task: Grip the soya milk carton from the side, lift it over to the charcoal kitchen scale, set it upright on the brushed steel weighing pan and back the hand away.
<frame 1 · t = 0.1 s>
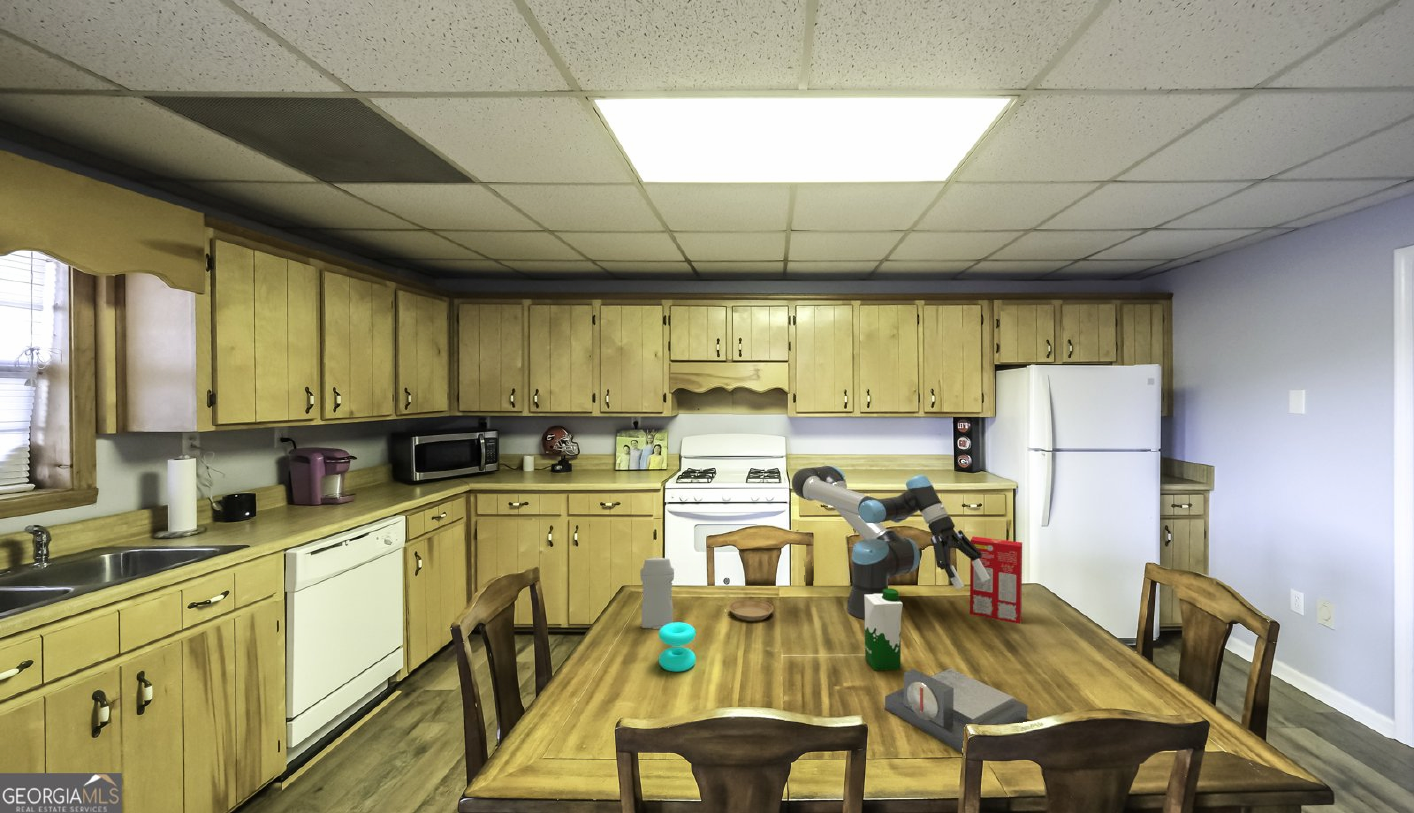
hand: (973, 584, 172), 15 cm above the table, tool tilted 35°, fingers open, 13 cm apart
food packaging: (995, 616, 186), on the table
scale: (955, 713, 129), on the table
donuts: (677, 665, 153), on the table
plant saucer: (751, 615, 187), on the table
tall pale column: (657, 627, 177), on the table
soya milk: (882, 664, 153), on the table
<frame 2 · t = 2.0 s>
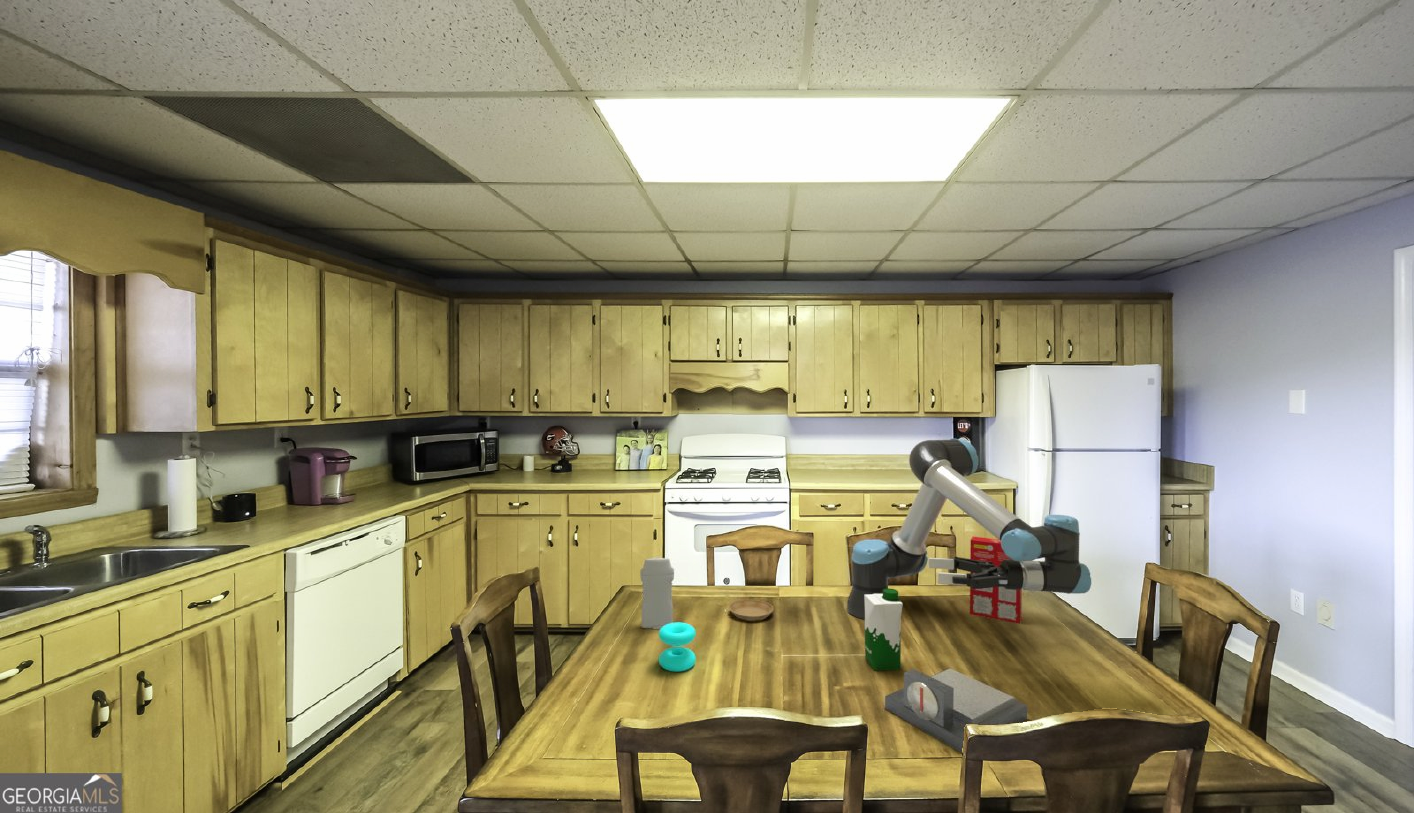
hand: (932, 570, 150), 26 cm above the table, tool horizontal, fingers open, 13 cm apart
nothing on the table moved.
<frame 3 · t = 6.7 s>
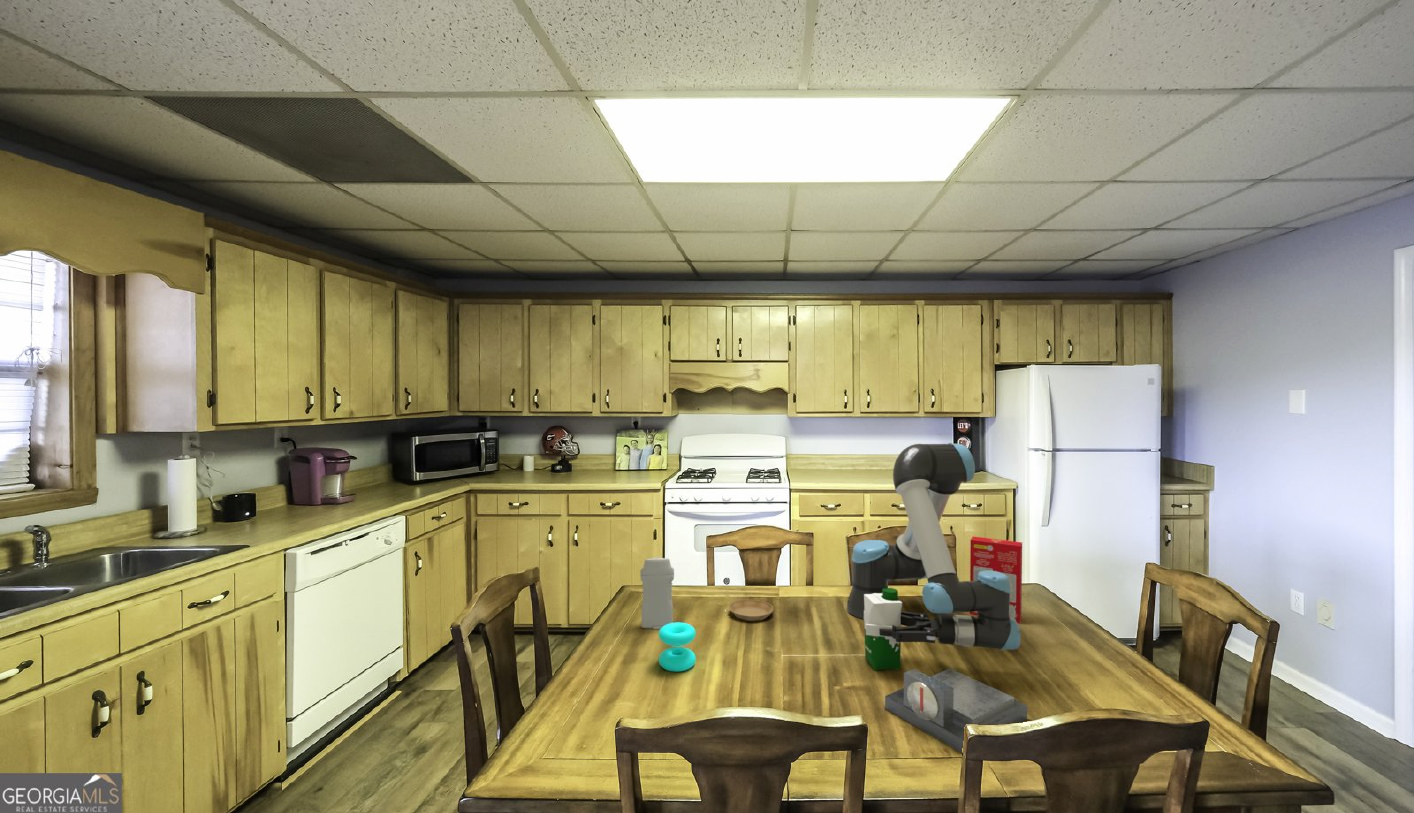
hand: (865, 622, 153), 11 cm above the table, tool horizontal, fingers closed on soya milk, 9 cm apart
soya milk: (882, 664, 153), on the table, touching gripper
everything else where it was.
when the fingers open (17 cm above the table, at t = 13.4 s): soya milk drops 1 cm, resting on scale.
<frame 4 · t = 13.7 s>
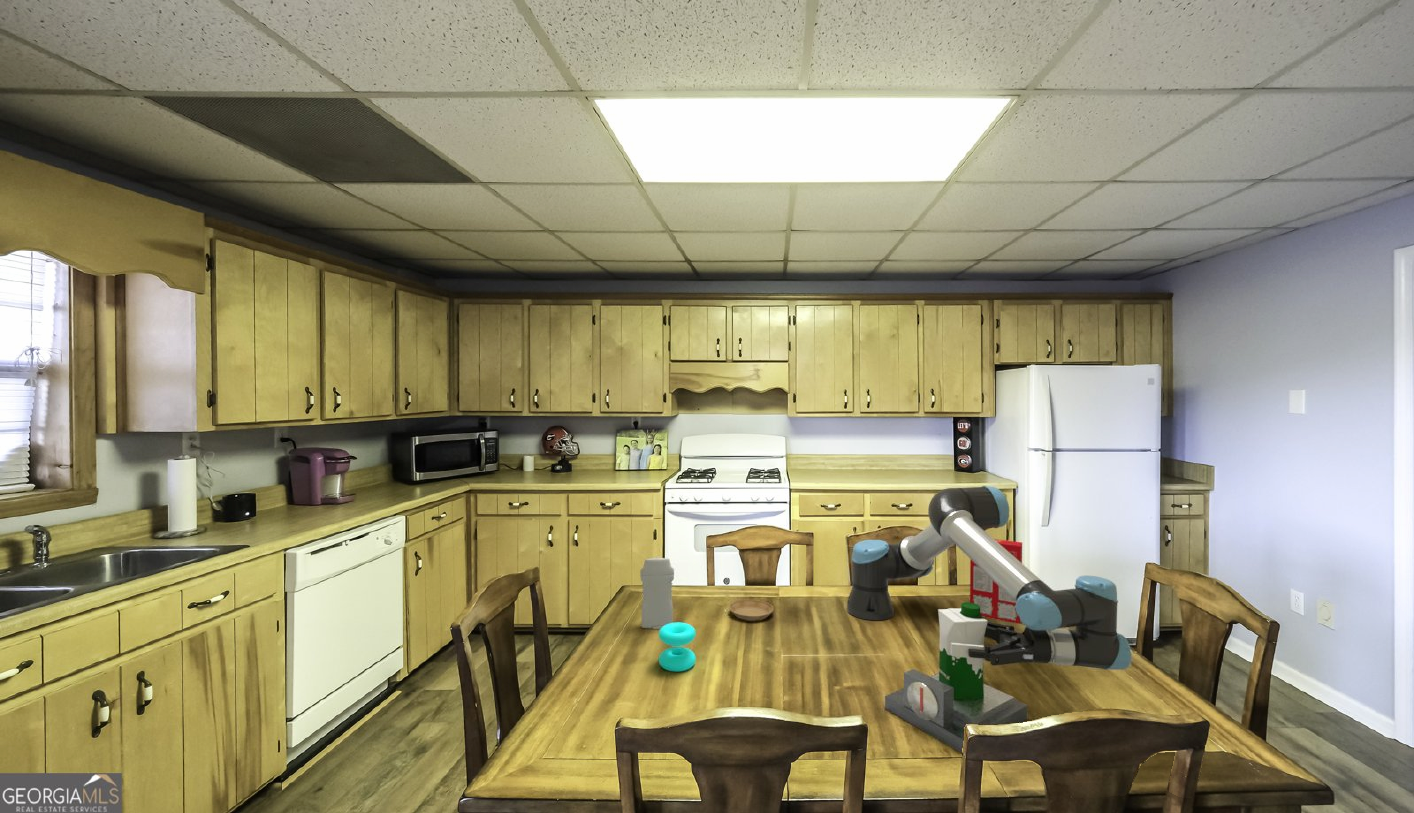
hand: (945, 636, 130), 17 cm above the table, tool horizontal, fingers open, 13 cm apart
soya milk: (960, 692, 130), point 4 cm above the table, touching scale
everything else where it was.
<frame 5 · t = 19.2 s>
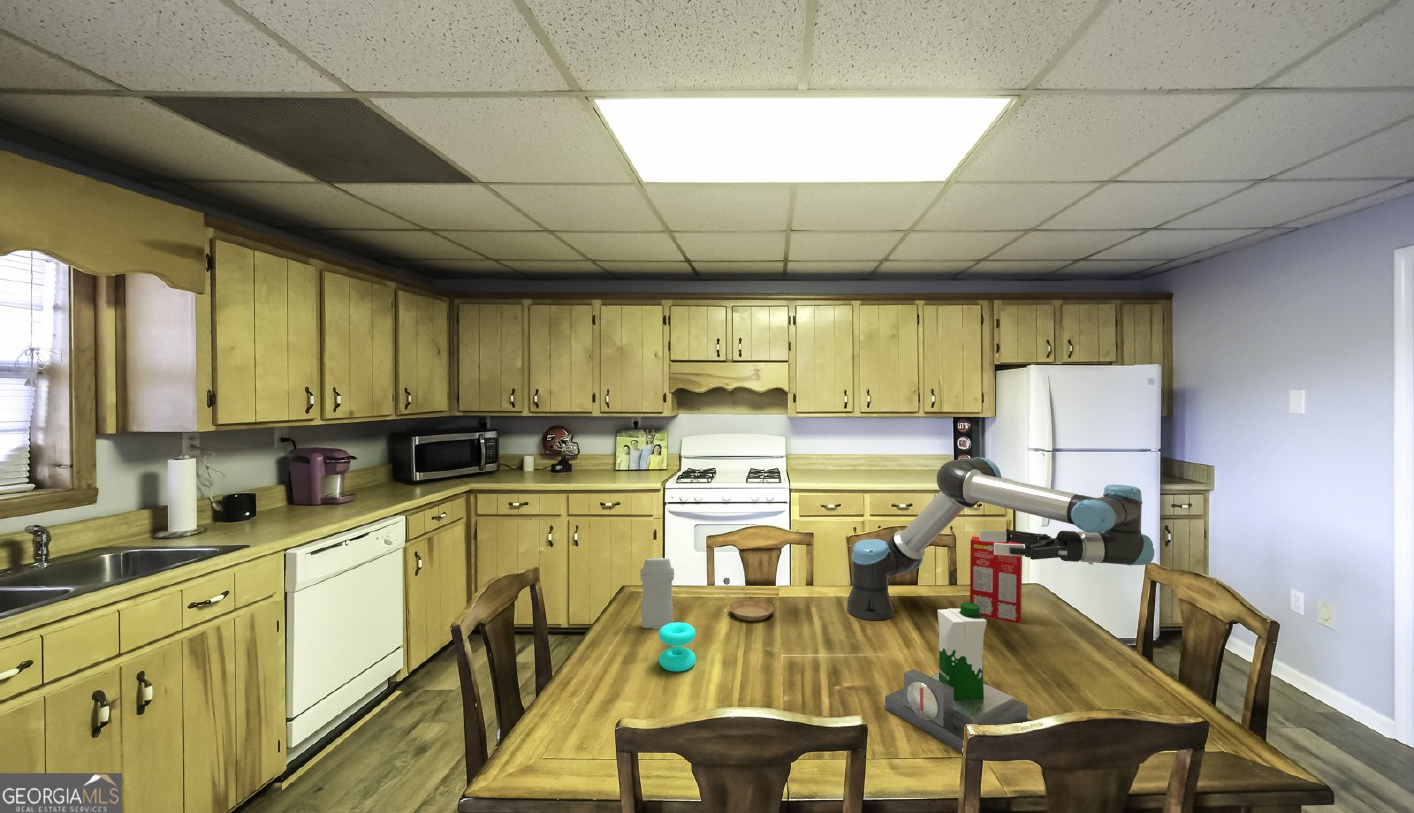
hand: (986, 541, 146), 35 cm above the table, tool horizontal, fingers open, 13 cm apart
nothing on the table moved.
at the end: soya milk inside the target area on the scale (0.0 cm from its centre), point 4.3 cm above the scale's base; soya milk tilted 0°; the gripper is holding nothing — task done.
